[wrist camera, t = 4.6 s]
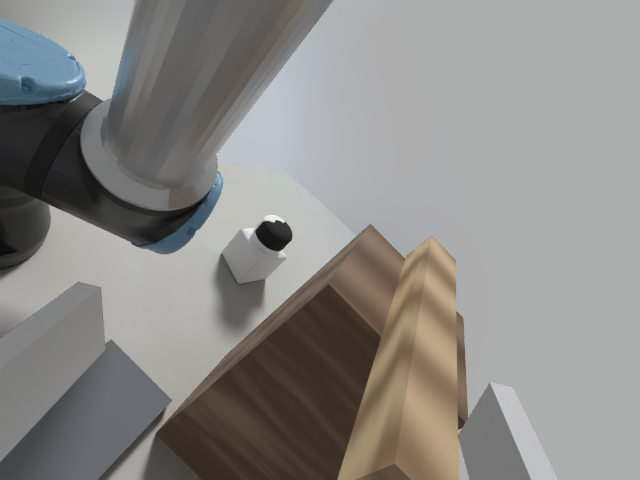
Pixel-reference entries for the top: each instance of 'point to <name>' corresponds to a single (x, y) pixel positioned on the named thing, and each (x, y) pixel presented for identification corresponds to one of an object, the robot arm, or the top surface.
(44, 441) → the mat
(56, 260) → the top surface
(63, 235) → the top surface
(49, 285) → the top surface
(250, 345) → the stand
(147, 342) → the top surface
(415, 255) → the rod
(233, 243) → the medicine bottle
